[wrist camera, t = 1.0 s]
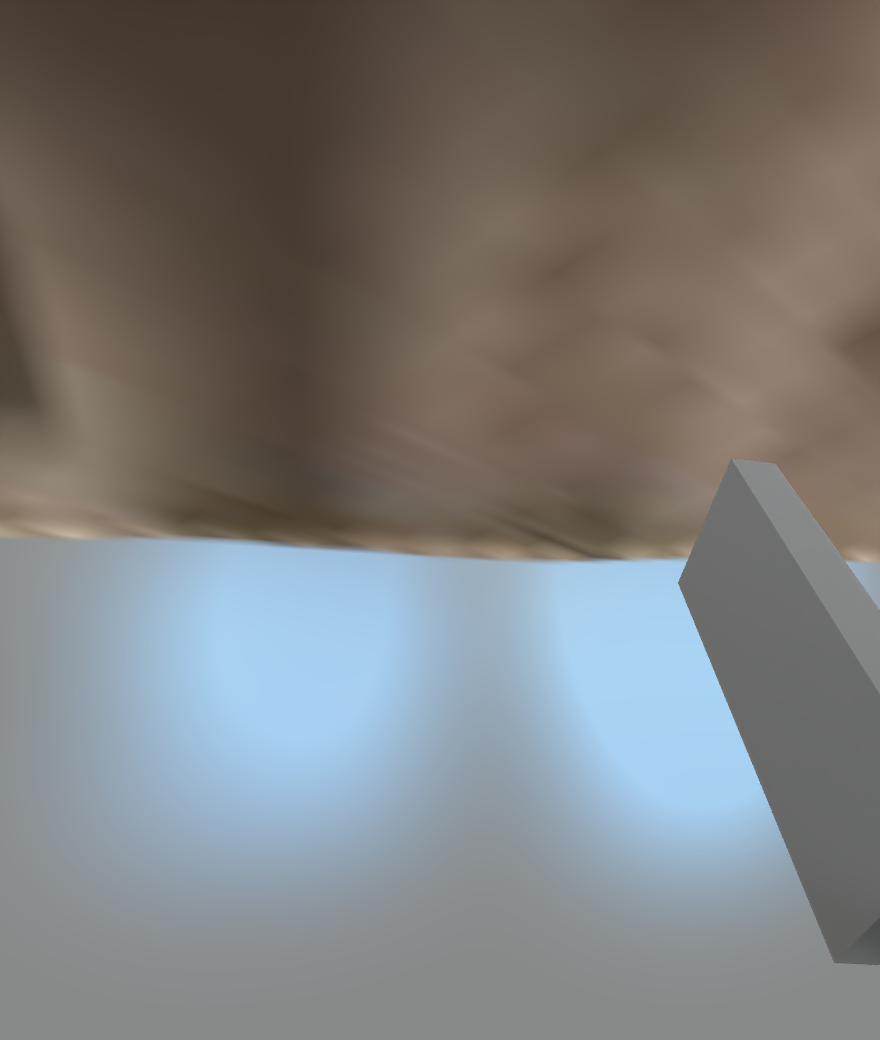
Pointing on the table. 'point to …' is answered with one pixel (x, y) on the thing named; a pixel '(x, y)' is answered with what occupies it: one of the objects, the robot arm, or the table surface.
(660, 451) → the table surface
